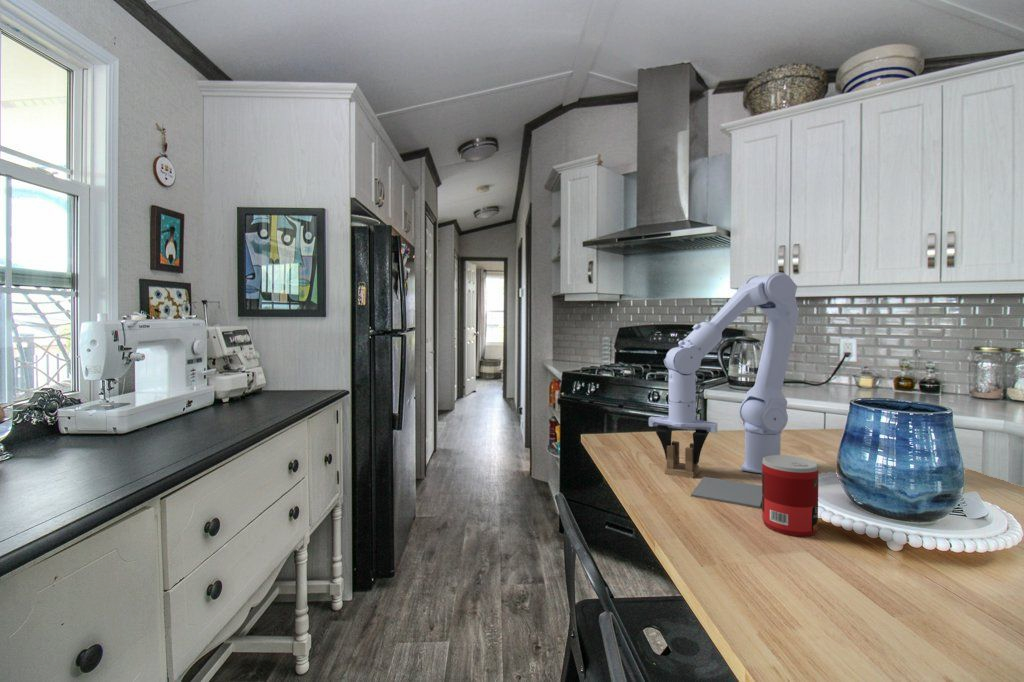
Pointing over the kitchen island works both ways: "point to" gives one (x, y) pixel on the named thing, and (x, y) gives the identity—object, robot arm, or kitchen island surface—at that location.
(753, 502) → the mat
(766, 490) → the canned food
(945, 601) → the kitchen island surface
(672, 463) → the stool
